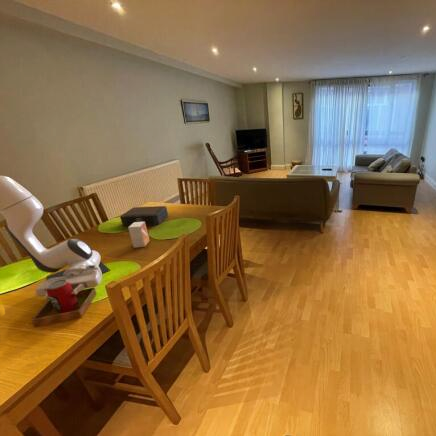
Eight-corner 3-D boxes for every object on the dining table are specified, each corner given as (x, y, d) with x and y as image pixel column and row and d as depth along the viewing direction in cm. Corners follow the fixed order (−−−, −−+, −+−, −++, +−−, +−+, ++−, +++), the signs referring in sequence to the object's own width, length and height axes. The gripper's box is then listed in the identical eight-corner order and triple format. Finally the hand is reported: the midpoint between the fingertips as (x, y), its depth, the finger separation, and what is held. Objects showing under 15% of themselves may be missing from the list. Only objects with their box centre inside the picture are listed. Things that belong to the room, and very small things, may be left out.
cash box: (121, 227, 167) (118, 216, 164) (135, 216, 186) (132, 207, 183) (159, 225, 170) (156, 215, 167) (169, 214, 188) (167, 205, 186)
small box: (145, 246, 141) (139, 226, 136) (133, 247, 140) (127, 227, 135) (150, 240, 148) (145, 221, 143) (138, 241, 147) (133, 222, 142)
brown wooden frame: (34, 327, 86) (31, 320, 85) (56, 301, 99) (53, 294, 97) (82, 317, 90) (79, 310, 89) (96, 293, 103) (94, 287, 102)
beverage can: (57, 308, 95) (45, 283, 90) (79, 300, 99) (68, 276, 94) (56, 318, 90) (44, 292, 86) (79, 309, 94) (68, 284, 90)
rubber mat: (57, 292, 104) (56, 291, 104) (47, 277, 114) (46, 276, 114) (110, 270, 119) (109, 269, 119) (97, 259, 129) (96, 258, 128)
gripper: (44, 273, 99) (22, 295, 87) (102, 264, 105) (89, 283, 93) (50, 286, 101) (29, 308, 89) (107, 276, 107) (94, 296, 95)
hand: (60, 295), depth 91 cm, fingers closed on beverage can, 6 cm apart
